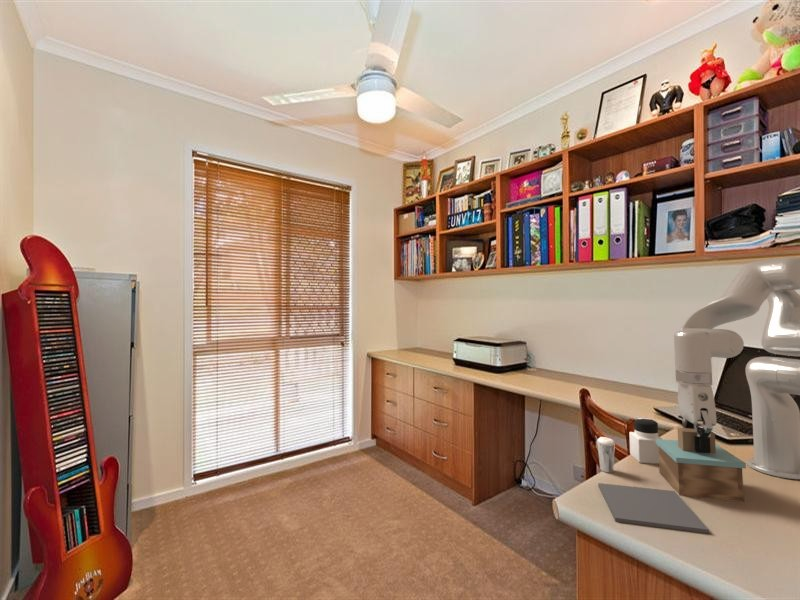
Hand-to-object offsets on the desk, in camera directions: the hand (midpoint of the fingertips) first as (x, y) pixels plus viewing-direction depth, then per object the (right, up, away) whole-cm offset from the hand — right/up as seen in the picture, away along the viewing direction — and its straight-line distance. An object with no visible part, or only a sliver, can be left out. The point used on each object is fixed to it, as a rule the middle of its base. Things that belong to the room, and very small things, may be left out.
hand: (696, 447), depth 97 cm
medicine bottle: (-1, -11, +17) cm, 20 cm away
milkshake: (-18, -11, +10) cm, 23 cm away
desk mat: (-19, -10, -10) cm, 24 cm away
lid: (0, -2, 0) cm, 2 cm away
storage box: (0, -10, 0) cm, 10 cm away
